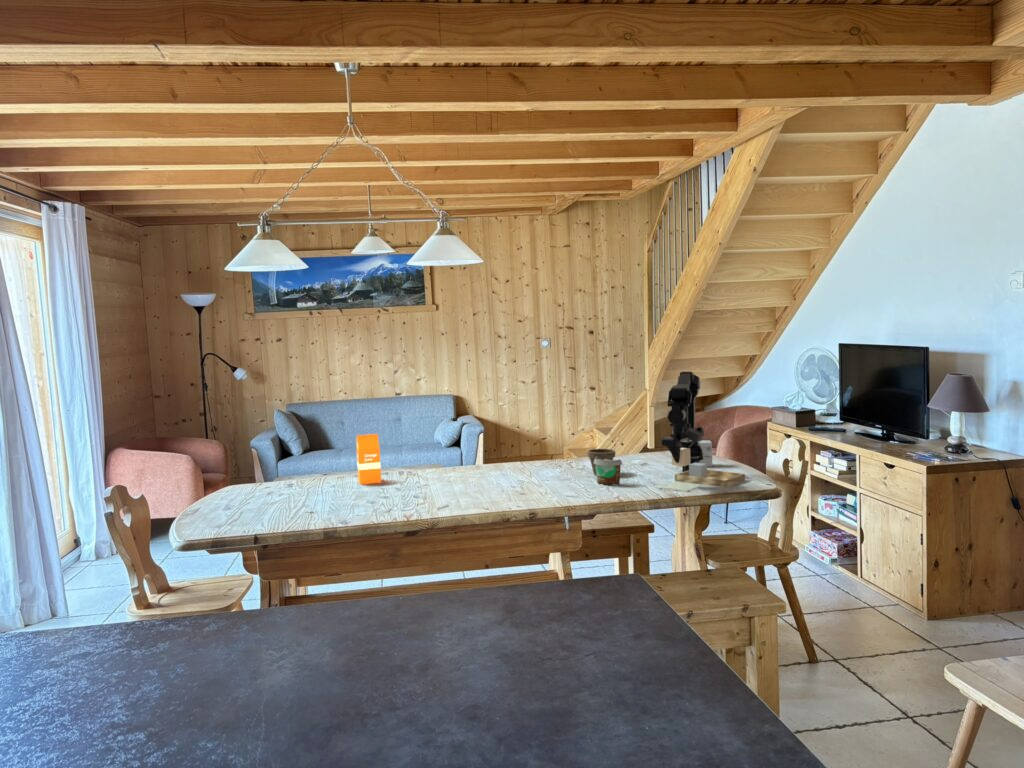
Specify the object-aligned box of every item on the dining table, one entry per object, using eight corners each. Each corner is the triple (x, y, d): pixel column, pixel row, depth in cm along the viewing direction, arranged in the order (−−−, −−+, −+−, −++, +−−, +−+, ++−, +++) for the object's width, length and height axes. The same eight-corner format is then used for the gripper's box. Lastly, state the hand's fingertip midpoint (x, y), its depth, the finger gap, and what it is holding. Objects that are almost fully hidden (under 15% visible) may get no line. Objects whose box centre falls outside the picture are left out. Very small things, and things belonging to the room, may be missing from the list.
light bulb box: (710, 464, 332) (710, 439, 331) (712, 467, 325) (712, 442, 324) (685, 464, 333) (685, 440, 332) (687, 467, 326) (687, 442, 325)
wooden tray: (675, 482, 297) (674, 474, 297) (694, 475, 309) (694, 468, 309) (726, 488, 283) (726, 480, 283) (744, 481, 295) (744, 473, 294)
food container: (587, 483, 301) (587, 458, 300) (597, 480, 305) (596, 456, 305) (613, 487, 292) (612, 461, 292) (622, 484, 297) (621, 459, 296)
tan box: (672, 464, 287) (671, 448, 286) (678, 462, 290) (678, 447, 290) (683, 466, 283) (683, 450, 283) (690, 464, 287) (690, 448, 287)
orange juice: (381, 482, 318) (379, 435, 316) (360, 484, 315) (357, 436, 313) (378, 478, 325) (376, 432, 323) (358, 480, 322) (355, 434, 321)
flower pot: (613, 471, 324) (612, 447, 323) (618, 476, 312) (617, 452, 312) (586, 472, 324) (585, 448, 323) (590, 477, 312) (589, 453, 311)
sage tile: (661, 488, 287) (661, 487, 287) (675, 483, 295) (675, 481, 295) (687, 492, 280) (687, 490, 280) (701, 486, 288) (701, 485, 288)
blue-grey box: (689, 479, 299) (689, 464, 299) (695, 477, 303) (695, 462, 302) (700, 481, 296) (700, 465, 295) (706, 478, 300) (706, 463, 299)
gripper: (687, 425, 273) (687, 467, 275) (711, 418, 287) (712, 459, 288) (660, 423, 281) (660, 464, 282) (685, 417, 295) (685, 456, 296)
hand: (680, 461), depth 287 cm, fingers closed on tan box, 5 cm apart
